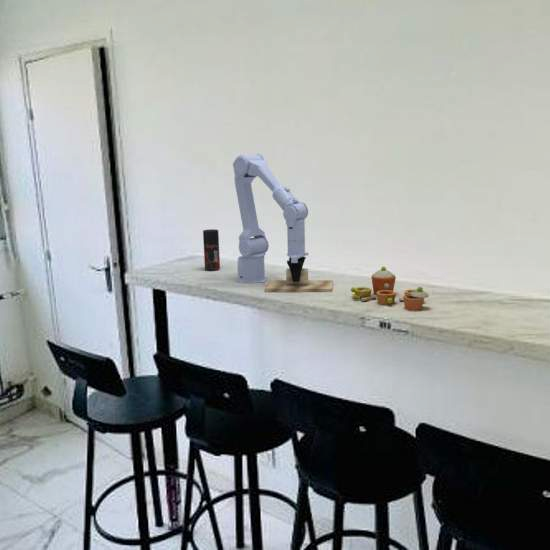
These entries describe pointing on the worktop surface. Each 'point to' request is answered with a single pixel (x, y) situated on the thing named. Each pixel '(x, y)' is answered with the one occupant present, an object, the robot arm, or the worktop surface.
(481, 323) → the worktop surface
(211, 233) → the deodorant
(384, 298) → the toy tea set
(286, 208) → the robot arm
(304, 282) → the block
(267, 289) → the board
